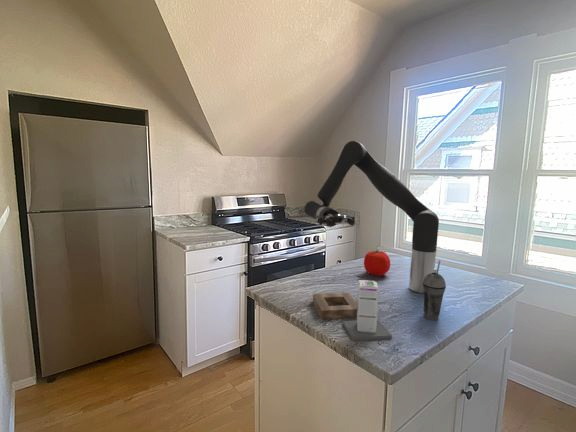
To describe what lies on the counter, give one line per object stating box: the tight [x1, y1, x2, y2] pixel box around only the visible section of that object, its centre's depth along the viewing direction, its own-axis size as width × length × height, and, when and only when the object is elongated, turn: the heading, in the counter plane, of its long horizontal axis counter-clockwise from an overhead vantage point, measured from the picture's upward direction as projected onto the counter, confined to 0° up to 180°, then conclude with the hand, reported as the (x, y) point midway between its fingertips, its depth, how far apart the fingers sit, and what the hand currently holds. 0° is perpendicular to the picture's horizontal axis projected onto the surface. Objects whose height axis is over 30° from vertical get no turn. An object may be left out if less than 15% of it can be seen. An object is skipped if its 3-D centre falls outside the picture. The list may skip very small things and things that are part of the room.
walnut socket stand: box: [312, 292, 358, 320], centre depth 113 cm, size 14×14×3 cm
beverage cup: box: [423, 260, 447, 321], centre depth 107 cm, size 7×7×20 cm
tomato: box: [363, 249, 391, 277], centre depth 151 cm, size 12×13×12 cm
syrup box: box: [356, 279, 379, 333], centre depth 98 cm, size 6×6×14 cm
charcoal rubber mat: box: [342, 319, 393, 342], centre depth 99 cm, size 12×10×1 cm
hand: (342, 222), depth 117 cm, fingers open, 8 cm apart
